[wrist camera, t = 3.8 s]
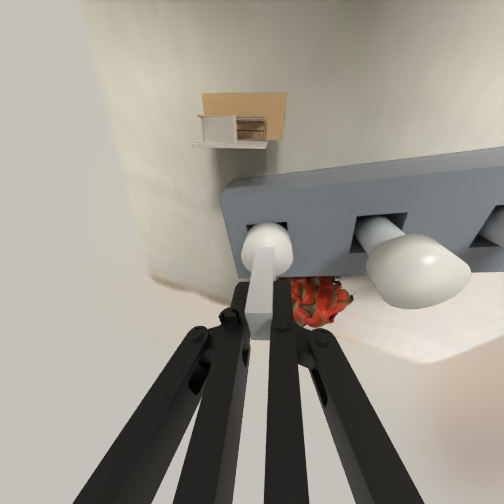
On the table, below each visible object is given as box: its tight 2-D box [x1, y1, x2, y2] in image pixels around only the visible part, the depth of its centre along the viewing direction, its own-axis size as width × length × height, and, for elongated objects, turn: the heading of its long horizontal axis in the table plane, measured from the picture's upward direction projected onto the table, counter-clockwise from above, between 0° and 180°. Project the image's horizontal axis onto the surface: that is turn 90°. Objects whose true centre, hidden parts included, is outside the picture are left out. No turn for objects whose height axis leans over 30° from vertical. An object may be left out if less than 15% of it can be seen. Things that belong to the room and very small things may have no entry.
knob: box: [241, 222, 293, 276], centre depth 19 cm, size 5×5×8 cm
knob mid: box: [354, 214, 471, 309], centre depth 14 cm, size 5×5×8 cm
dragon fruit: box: [276, 276, 354, 328], centre depth 26 cm, size 8×8×12 cm
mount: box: [219, 147, 504, 278], centre depth 19 cm, size 10×28×6 cm, turn 98°
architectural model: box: [192, 93, 287, 149], centre depth 15 cm, size 3×7×7 cm, turn 90°
